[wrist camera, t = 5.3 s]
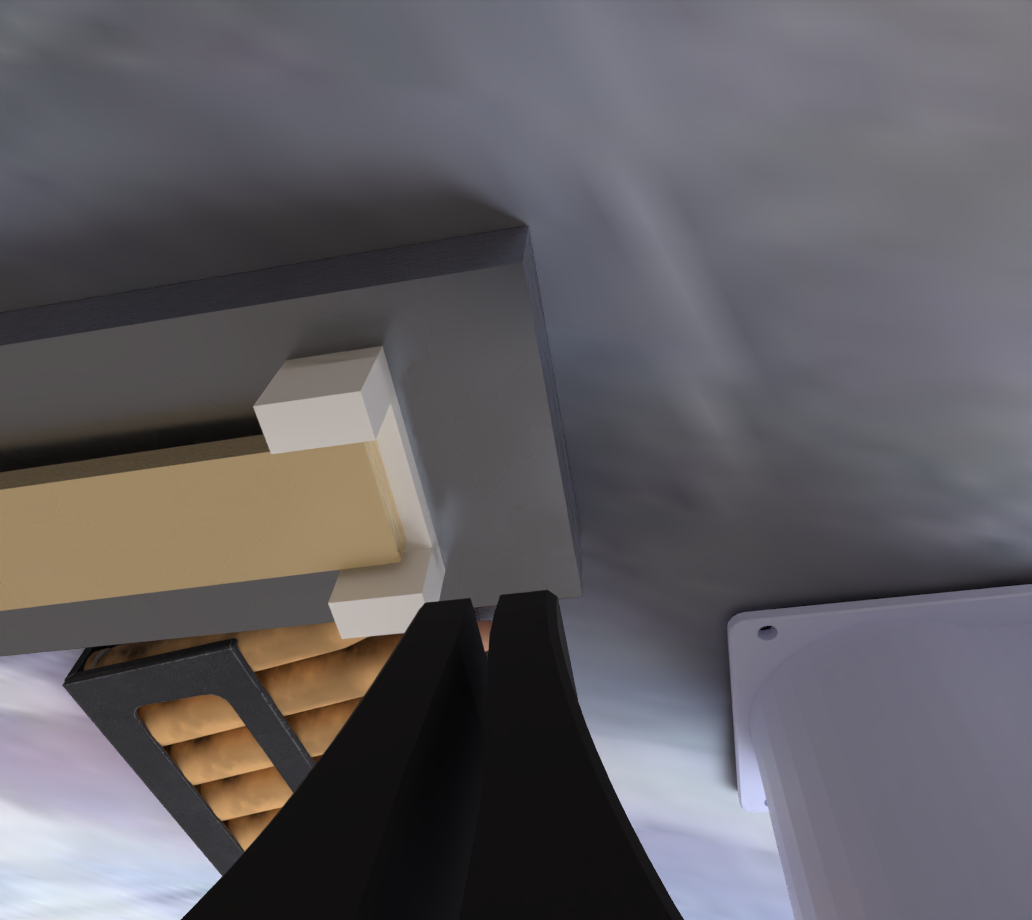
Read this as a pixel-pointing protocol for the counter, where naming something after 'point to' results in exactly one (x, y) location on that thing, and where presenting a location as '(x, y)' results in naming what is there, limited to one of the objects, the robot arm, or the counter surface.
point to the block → (230, 414)
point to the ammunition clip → (228, 718)
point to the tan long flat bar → (192, 520)
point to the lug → (377, 416)
